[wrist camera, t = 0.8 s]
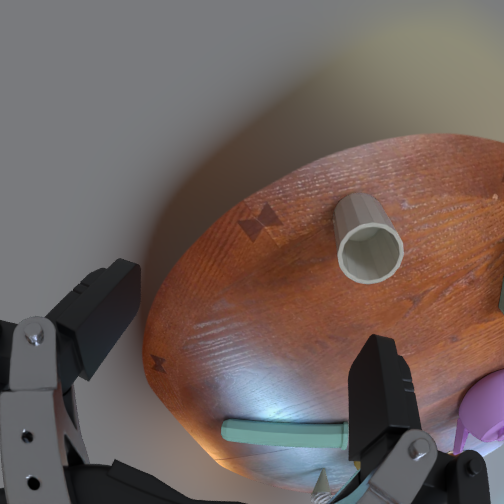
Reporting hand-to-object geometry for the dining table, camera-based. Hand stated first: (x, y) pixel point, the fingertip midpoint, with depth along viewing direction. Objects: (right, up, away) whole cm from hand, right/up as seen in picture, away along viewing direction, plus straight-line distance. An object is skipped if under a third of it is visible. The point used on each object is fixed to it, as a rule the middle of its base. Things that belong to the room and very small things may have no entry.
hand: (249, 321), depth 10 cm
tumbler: (+12, +6, +24) cm, 27 cm away
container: (+7, -32, +45) cm, 55 cm away
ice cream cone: (+18, -53, +53) cm, 77 cm away
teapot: (+47, -25, +33) cm, 63 cm away
